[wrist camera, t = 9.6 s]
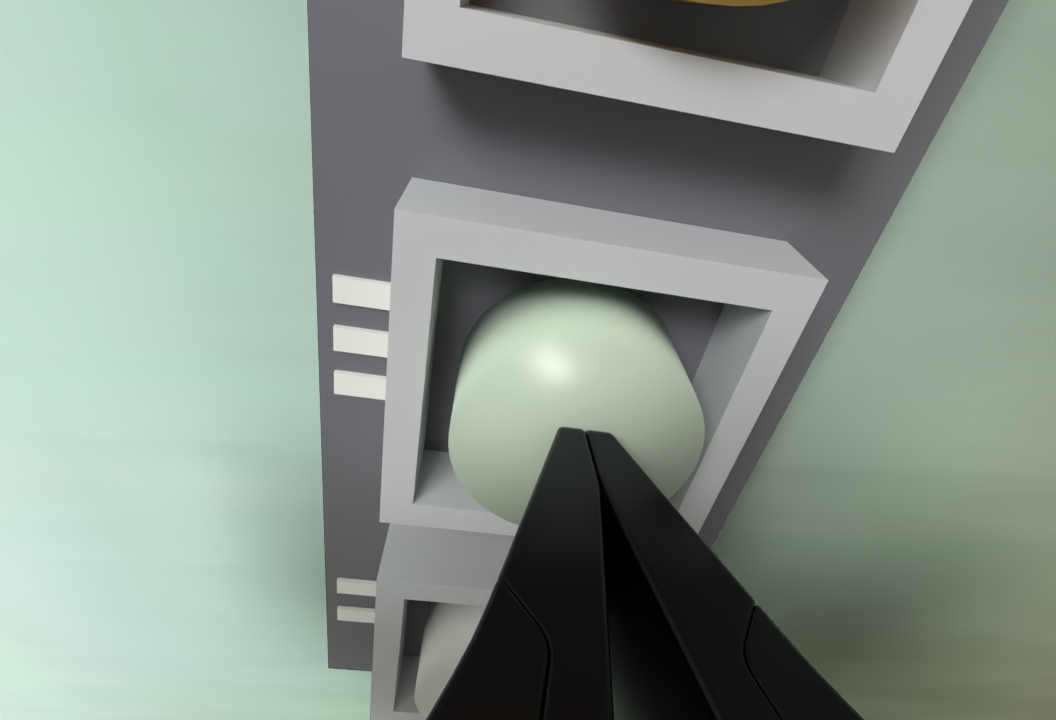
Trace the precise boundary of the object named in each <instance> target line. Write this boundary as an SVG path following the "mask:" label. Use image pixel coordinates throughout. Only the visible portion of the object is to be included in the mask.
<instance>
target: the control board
mask: <svg viewBox="0 0 1056 720" xmlns="http://www.w3.org/2000/svg"><path fill="white" fill-rule="evenodd" d="M1007 2H1008V0H789V1H784V2H779V3H773V4H767V5H762V6H727V5H715V4H702V3H690V2H681V1H673V0H307V10H308V41H309V73H310V104H311V135H312V167H313V198H314V229H315V261H316V292H317V323H318V355H319V386H320V417H321V449H322V480H323V511H324V543H325V574H326V605H327V637H328V668H333V669H347V670H360V671H372V686H371V707H370V720H426V718H424V717H423V716H422V714H421V713H420V712H419V711H418V709H417V707H416V704H415V700H414V694H415V687H416V681H417V674H418V667H419V660H420V653H421V646H422V639H423V632H424V625H425V618H426V613H427V609H428V606H429V604H430V602H441V603H453V604H464V605H475V606H486V605H487V603H488V600H489V598H490V595H491V593H492V590H493V588H494V586H495V583H496V582H497V580H498V576H499V574H500V571H501V569H502V567H503V564H504V562H505V559H506V557H507V554H508V552H509V549H510V547H511V544H512V542H513V539H514V537H515V534H516V532H517V529H518V527H519V525H517V524H514V523H511V522H508V521H506V520H504V519H502V518H500V517H498V516H496V515H495V514H493V513H491V512H490V511H488V510H486V509H485V508H484V507H483V506H481V505H480V504H479V503H478V502H476V501H475V500H474V499H473V498H472V497H471V496H470V495H469V494H468V492H467V491H466V490H465V489H464V487H463V486H462V484H461V483H460V482H459V480H458V478H457V476H456V474H455V472H454V470H453V467H452V463H451V460H450V456H449V448H448V439H449V428H450V422H451V415H452V409H453V402H454V395H455V389H456V382H457V376H458V369H459V363H460V358H461V353H462V349H463V346H464V343H465V341H466V338H467V336H468V334H469V333H470V331H471V329H472V327H473V326H474V324H475V323H476V322H477V321H478V319H479V318H480V317H481V316H482V315H483V314H484V313H485V312H486V311H487V310H488V309H489V308H490V307H491V306H492V305H493V304H495V303H496V302H497V301H499V300H500V299H501V298H503V297H504V296H506V295H508V294H510V293H512V292H513V291H515V290H517V289H520V288H522V287H525V286H527V285H530V284H533V283H537V282H540V281H544V280H549V279H556V278H568V279H574V280H580V281H587V282H593V283H600V284H606V285H612V286H619V287H621V288H623V289H625V290H627V291H629V292H631V293H633V294H635V295H636V296H637V297H639V298H640V299H642V300H643V301H644V302H646V303H647V304H648V305H649V306H650V307H651V308H652V309H653V310H654V311H655V312H656V314H657V315H658V316H659V317H660V319H661V320H662V321H663V323H664V325H665V327H666V329H667V331H668V333H669V335H670V337H671V339H672V342H673V344H674V346H675V348H676V351H677V353H678V355H679V358H680V360H681V362H682V364H683V367H684V369H685V371H686V373H687V376H688V378H689V380H690V382H691V385H692V387H693V389H694V392H695V394H696V396H697V398H698V401H699V403H700V406H701V409H702V412H703V418H704V424H705V436H704V443H703V448H702V452H701V455H700V458H699V460H698V463H697V465H696V467H695V469H694V470H693V472H692V474H691V476H690V477H689V478H688V479H687V481H686V482H685V483H684V485H683V486H682V487H681V488H680V489H679V490H678V491H677V492H676V493H675V494H674V495H673V496H672V497H671V498H669V499H668V500H669V501H670V502H671V503H672V505H673V506H674V507H675V508H676V509H677V510H678V512H679V513H680V514H681V515H682V516H683V517H684V519H685V520H686V521H687V522H688V523H689V524H690V526H691V527H692V528H693V529H694V530H695V531H696V533H697V534H698V535H699V536H700V537H701V538H702V540H703V541H704V542H705V543H706V544H707V546H708V547H709V548H711V546H712V544H713V542H714V540H715V538H716V537H717V535H718V533H719V531H720V529H721V527H722V526H723V524H724V522H725V520H726V518H727V516H728V515H729V513H730V511H731V509H732V507H733V505H734V504H735V502H736V500H737V498H738V496H739V494H740V493H741V491H742V489H743V487H744V485H745V483H746V481H747V480H748V478H749V476H750V474H751V472H752V470H753V469H754V467H755V465H756V463H757V461H758V459H759V458H760V456H761V454H762V452H763V450H764V448H765V447H766V445H767V443H768V441H769V439H770V437H771V436H772V434H773V432H774V430H775V428H776V426H777V425H778V423H779V421H780V419H781V417H782V415H783V414H784V412H785V410H786V408H787V406H788V404H789V403H790V401H791V399H792V397H793V395H794V393H795V392H796V390H797V388H798V386H799V384H800V382H801V381H802V379H803V377H804V375H805V373H806V371H807V370H808V368H809V366H810V364H811V362H812V360H813V358H814V357H815V355H816V353H817V351H818V349H819V347H820V346H821V344H822V342H823V340H824V338H825V336H826V335H827V333H828V331H829V329H830V327H831V325H832V324H833V322H834V320H835V318H836V316H837V314H838V313H839V311H840V309H841V307H842V305H843V303H844V302H845V300H846V298H847V296H848V294H849V292H850V291H851V289H852V287H853V285H854V283H855V281H856V280H857V278H858V276H859V274H860V272H861V270H862V269H863V267H864V265H865V263H866V261H867V259H868V258H869V256H870V254H871V252H872V250H873V248H874V246H875V245H876V243H877V241H878V239H879V237H880V235H881V234H882V232H883V230H884V228H885V226H886V224H887V223H888V221H889V219H890V217H891V215H892V213H893V212H894V210H895V208H896V206H897V204H898V202H899V201H900V199H901V197H902V195H903V193H904V191H905V190H906V188H907V186H908V184H909V182H910V180H911V179H912V177H913V175H914V173H915V171H916V169H917V168H918V166H919V164H920V162H921V160H922V158H923V157H924V155H925V153H926V151H927V149H928V147H929V146H930V144H931V142H932V140H933V138H934V136H935V134H936V133H937V131H938V129H939V127H940V125H941V123H942V122H943V120H944V118H945V116H946V114H947V112H948V111H949V109H950V107H951V105H952V103H953V101H954V100H955V98H956V96H957V94H958V92H959V90H960V89H961V87H962V85H963V83H964V81H965V79H966V78H967V76H968V74H969V72H970V70H971V68H972V67H973V65H974V63H975V61H976V59H977V57H978V56H979V54H980V52H981V50H982V48H983V46H984V45H985V43H986V41H987V39H988V37H989V35H990V34H991V32H992V30H993V28H994V26H995V24H996V22H997V21H998V19H999V17H1000V15H1001V13H1002V11H1003V10H1004V8H1005V6H1006V4H1007Z"/></svg>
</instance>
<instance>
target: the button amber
mask: <svg viewBox="0 0 1056 720" xmlns="http://www.w3.org/2000/svg"><path fill="white" fill-rule="evenodd" d="M673 1H681V2H690V3H702V4H715V5H727V6H762V5H767V4H773V3H779V2H784V1H789V0H673Z"/></svg>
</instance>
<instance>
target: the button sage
mask: <svg viewBox="0 0 1056 720" xmlns="http://www.w3.org/2000/svg"><path fill="white" fill-rule="evenodd" d="M559 427H570V428H578V429H582V430H583V431H585V432H586V431H588V430H594V431H602V432H608V433H611V434H612V435H613V436H614V437H615V438H616V439H617V440H618V441H619V443H620V444H621V445H622V446H623V447H624V448H625V450H626V451H627V452H628V453H629V454H630V455H631V457H632V458H633V459H634V460H635V461H636V462H637V464H638V465H639V466H640V467H641V468H642V469H643V471H644V472H645V473H646V474H647V475H648V476H649V478H650V479H651V480H652V481H653V482H654V483H655V485H656V486H657V487H658V488H659V489H660V490H661V492H662V493H663V494H664V495H665V496H666V498H667V499H669V498H671V497H672V496H673V495H674V494H675V493H676V492H677V491H678V490H679V489H680V488H681V487H682V486H683V485H684V483H685V482H686V481H687V479H688V478H689V477H690V476H691V474H692V472H693V470H694V469H695V467H696V465H697V463H698V460H699V458H700V455H701V452H702V448H703V443H704V436H705V424H704V418H703V412H702V409H701V406H700V403H699V401H698V398H697V396H696V394H695V392H694V389H693V387H692V385H691V382H690V380H689V378H688V376H687V373H686V371H685V369H684V367H683V364H682V362H681V360H680V358H679V355H678V353H677V351H676V348H675V346H674V344H673V342H672V339H671V337H670V335H669V333H668V331H667V329H666V327H665V325H664V323H663V321H662V320H661V319H660V317H659V316H658V315H657V314H656V312H655V311H654V310H653V309H652V308H651V307H650V306H649V305H648V304H647V303H646V302H644V301H643V300H642V299H640V298H639V297H637V296H636V295H635V294H633V293H631V292H629V291H627V290H625V289H623V288H621V287H619V286H612V285H606V284H600V283H593V282H587V281H580V280H574V279H568V278H556V279H549V280H544V281H540V282H537V283H533V284H530V285H527V286H525V287H522V288H520V289H517V290H515V291H513V292H512V293H510V294H508V295H506V296H504V297H503V298H501V299H500V300H499V301H497V302H496V303H495V304H493V305H492V306H491V307H490V308H489V309H488V310H487V311H486V312H485V313H484V314H483V315H482V316H481V317H480V318H479V319H478V321H477V322H476V323H475V324H474V326H473V327H472V329H471V331H470V333H469V334H468V336H467V338H466V341H465V343H464V346H463V349H462V353H461V358H460V363H459V369H458V376H457V382H456V389H455V395H454V402H453V409H452V415H451V422H450V428H449V439H448V448H449V456H450V460H451V463H452V467H453V470H454V472H455V474H456V476H457V478H458V480H459V482H460V483H461V484H462V486H463V487H464V489H465V490H466V491H467V492H468V494H469V495H470V496H471V497H472V498H473V499H474V500H475V501H476V502H478V503H479V504H480V505H481V506H483V507H484V508H485V509H486V510H488V511H490V512H491V513H493V514H495V515H496V516H498V517H500V518H502V519H504V520H506V521H508V522H511V523H514V524H517V525H519V524H520V522H521V519H522V517H523V514H524V512H525V509H526V507H527V504H528V502H529V499H530V497H531V494H532V492H533V489H534V487H535V485H536V482H537V480H538V477H539V475H540V472H541V470H542V467H543V465H544V462H545V460H546V457H547V455H548V452H549V450H550V447H551V445H552V442H553V440H554V437H555V435H556V432H557V430H558V428H559Z"/></svg>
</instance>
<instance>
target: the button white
mask: <svg viewBox="0 0 1056 720" xmlns="http://www.w3.org/2000/svg"><path fill="white" fill-rule="evenodd" d="M485 608H486V606H475V605H464V604H453V603H441V602H430V604H429V606H428V609H427V613H426V618H425V625H424V632H423V639H422V646H421V653H420V660H419V667H418V674H417V681H416V687H415V694H414V700H415V704H416V707H417V709H418V711H419V712H420V713H421V714H422V716H423V717H424V718H427V716H428V715H429V713H430V711H431V710H432V708H433V706H434V705H435V703H436V701H437V699H438V698H439V696H440V694H441V693H442V691H443V689H444V688H445V686H446V684H447V683H448V681H449V679H450V677H451V676H452V674H453V672H454V670H455V668H456V666H457V665H458V663H459V661H460V659H461V657H462V655H463V654H464V652H465V650H466V648H467V646H468V644H469V642H470V641H471V639H472V636H473V634H474V632H475V630H476V628H477V625H478V623H479V621H480V619H481V617H482V614H483V612H484V610H485Z"/></svg>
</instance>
